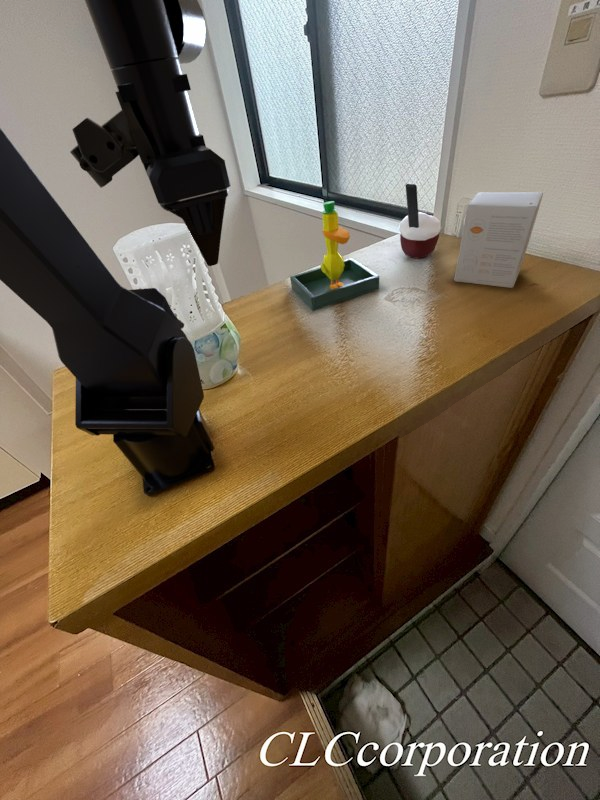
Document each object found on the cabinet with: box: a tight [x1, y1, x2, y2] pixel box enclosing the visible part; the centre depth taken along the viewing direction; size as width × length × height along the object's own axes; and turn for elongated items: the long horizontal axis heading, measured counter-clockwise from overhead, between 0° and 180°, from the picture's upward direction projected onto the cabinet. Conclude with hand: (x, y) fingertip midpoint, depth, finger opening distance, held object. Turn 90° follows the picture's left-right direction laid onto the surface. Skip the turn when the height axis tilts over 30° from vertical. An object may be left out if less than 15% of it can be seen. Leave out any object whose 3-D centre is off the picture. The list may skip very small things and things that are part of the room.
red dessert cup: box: [398, 183, 442, 259], centre depth 55 cm, size 10×6×12 cm, turn 119°
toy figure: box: [320, 200, 351, 290], centre depth 49 cm, size 7×4×12 cm, turn 28°
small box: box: [454, 191, 544, 289], centre depth 47 cm, size 8×6×10 cm
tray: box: [289, 257, 380, 312], centre depth 54 cm, size 11×9×2 cm
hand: (205, 251), depth 40 cm, fingers open, 9 cm apart
